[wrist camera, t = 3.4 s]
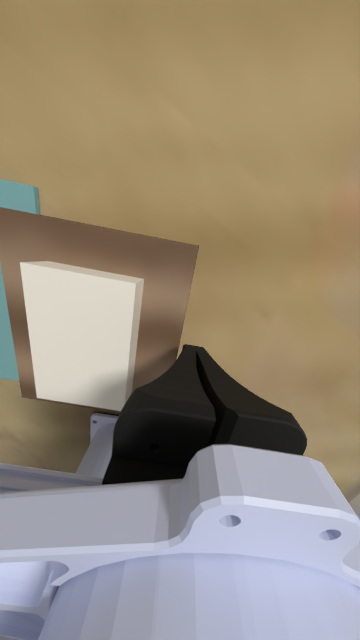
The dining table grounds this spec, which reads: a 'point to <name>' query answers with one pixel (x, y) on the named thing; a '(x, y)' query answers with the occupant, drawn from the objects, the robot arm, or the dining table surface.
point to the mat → (17, 198)
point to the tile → (82, 332)
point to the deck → (109, 256)
